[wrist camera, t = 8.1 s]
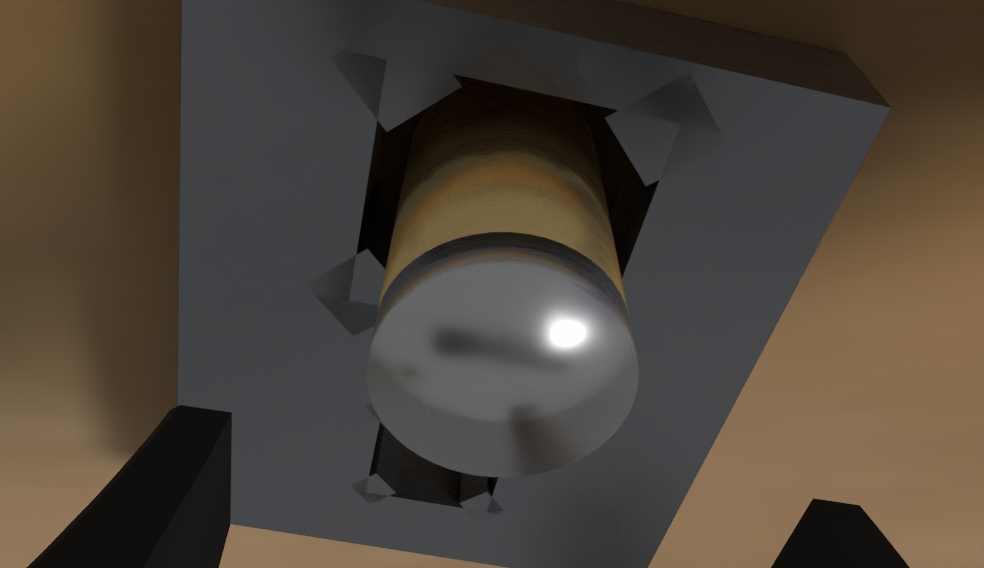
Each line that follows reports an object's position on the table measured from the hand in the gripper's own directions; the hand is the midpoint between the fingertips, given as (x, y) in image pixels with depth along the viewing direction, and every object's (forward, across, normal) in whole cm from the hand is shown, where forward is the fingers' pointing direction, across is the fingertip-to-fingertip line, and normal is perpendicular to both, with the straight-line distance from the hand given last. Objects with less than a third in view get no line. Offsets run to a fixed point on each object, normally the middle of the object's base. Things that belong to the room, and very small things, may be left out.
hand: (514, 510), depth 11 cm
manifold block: (+9, 0, +3) cm, 10 cm away
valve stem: (+9, 0, 0) cm, 9 cm away
